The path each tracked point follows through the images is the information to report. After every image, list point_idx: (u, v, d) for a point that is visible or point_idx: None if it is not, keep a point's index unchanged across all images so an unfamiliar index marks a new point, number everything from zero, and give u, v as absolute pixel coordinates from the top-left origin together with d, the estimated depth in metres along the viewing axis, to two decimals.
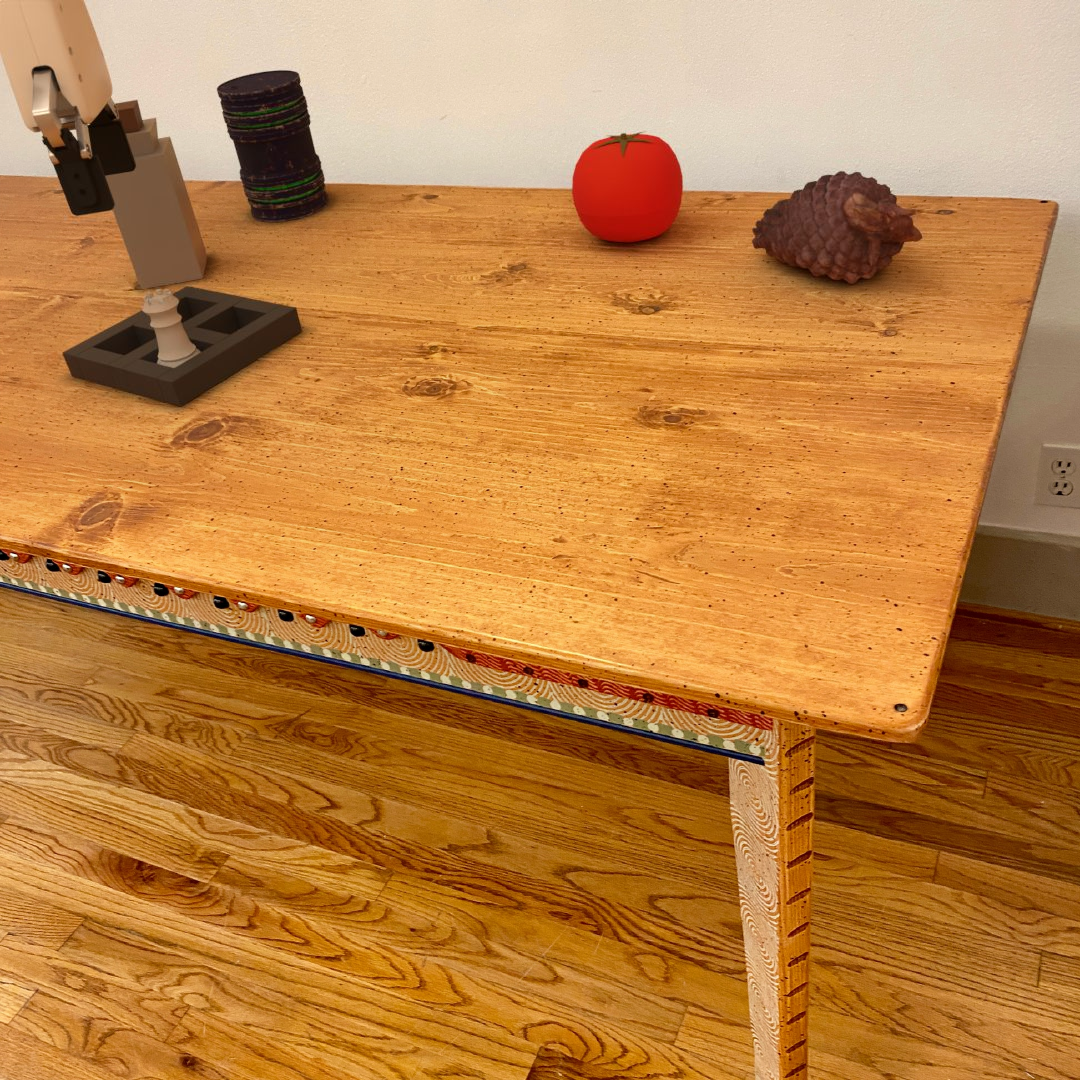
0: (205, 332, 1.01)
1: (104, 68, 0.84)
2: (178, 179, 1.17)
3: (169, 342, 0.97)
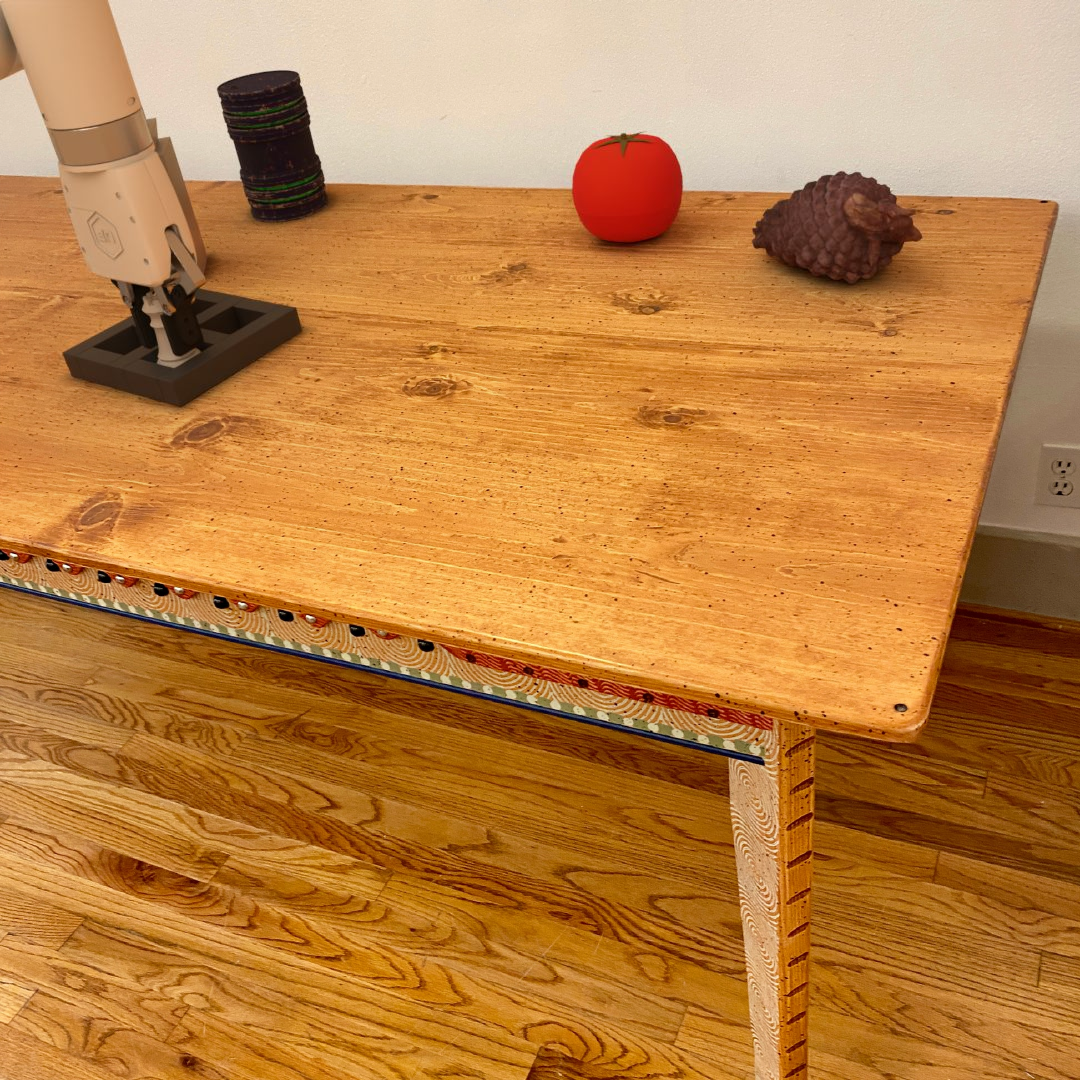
0: (205, 332, 1.01)
1: None
2: (178, 179, 1.17)
3: None
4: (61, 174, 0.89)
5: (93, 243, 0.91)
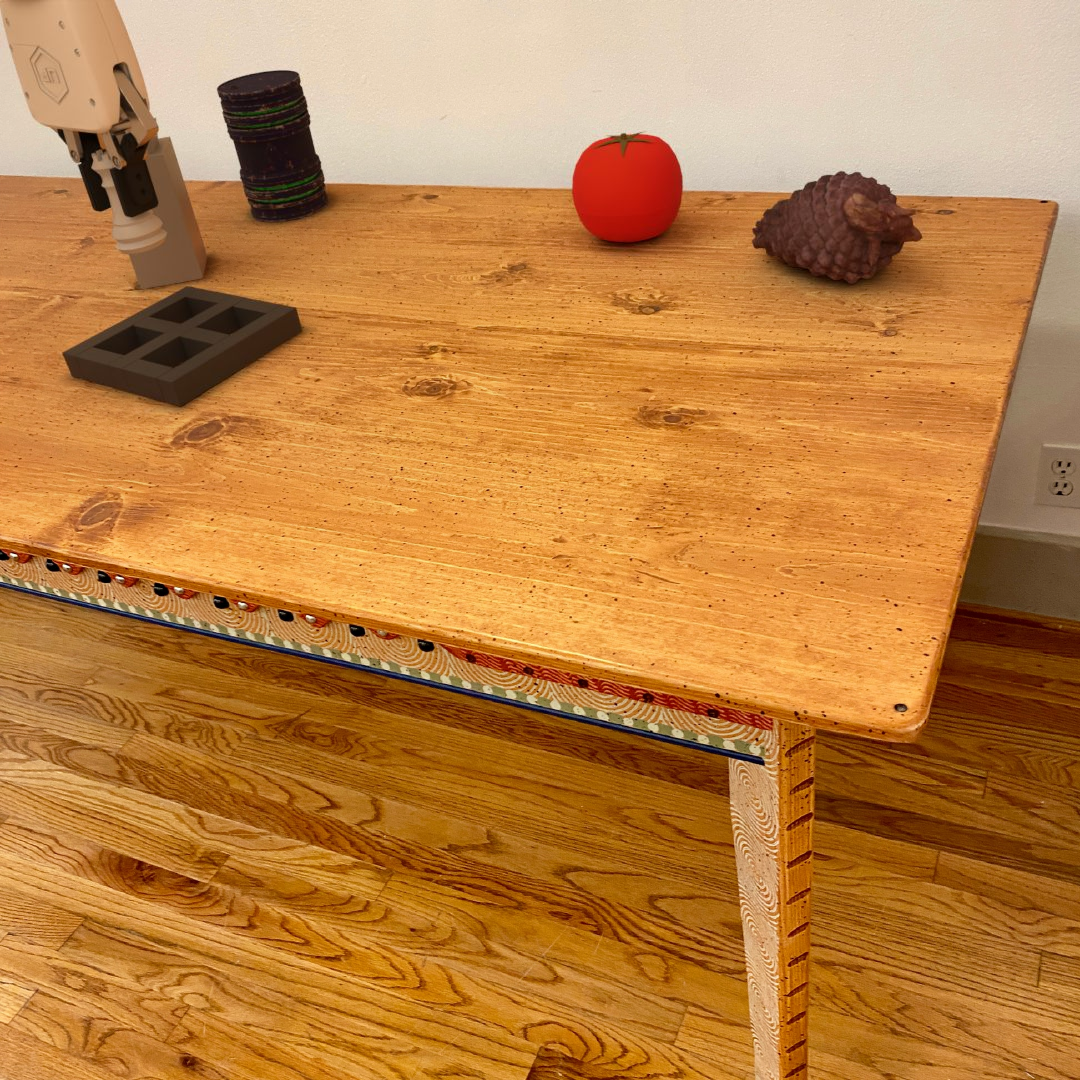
0: (205, 332, 1.01)
1: None
2: (178, 179, 1.17)
3: None
4: (1, 5, 0.82)
5: (37, 85, 0.84)
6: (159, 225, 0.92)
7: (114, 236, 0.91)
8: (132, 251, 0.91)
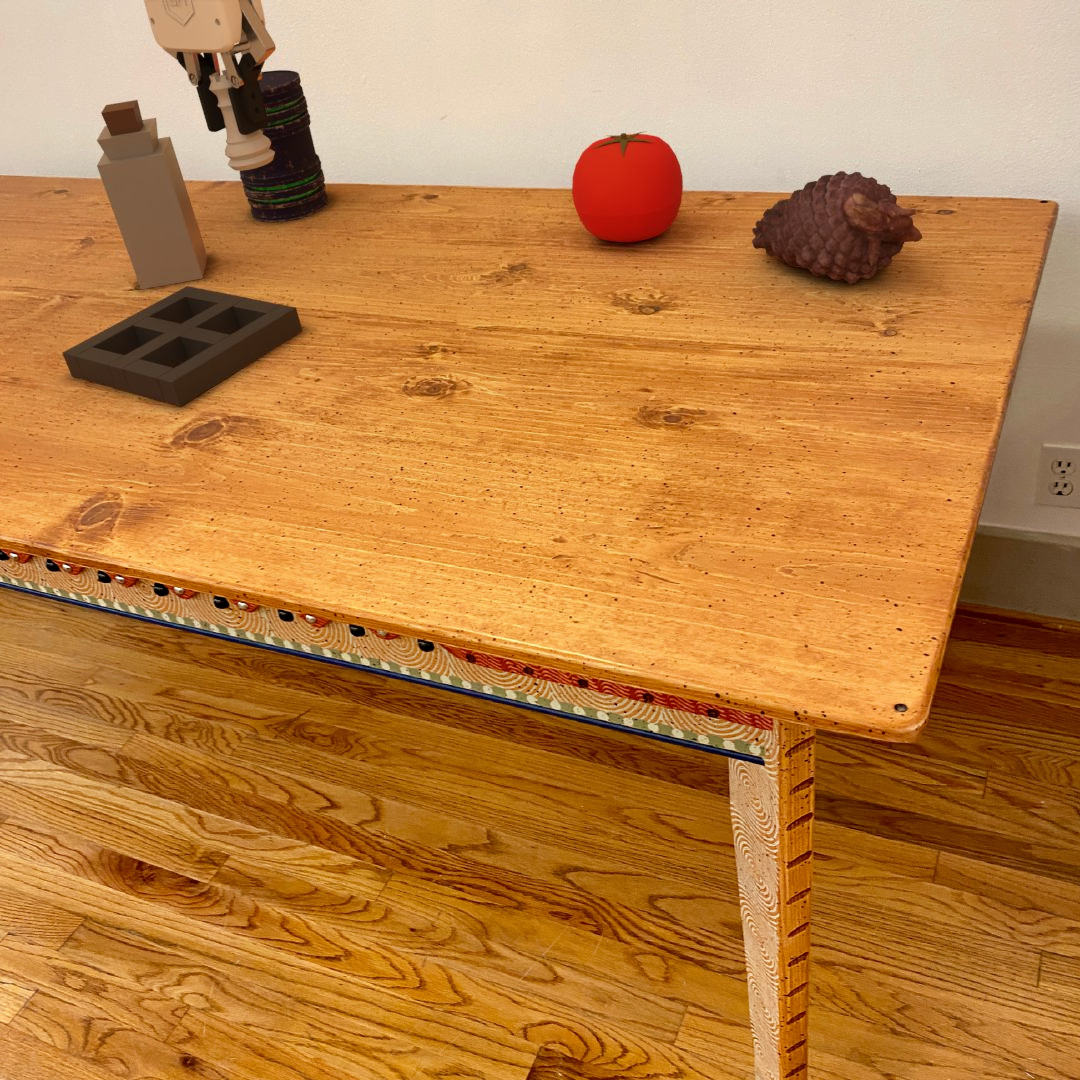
0: (205, 332, 1.01)
1: None
2: (178, 179, 1.17)
3: None
4: None
5: (163, 10, 0.92)
6: (269, 143, 0.99)
7: (228, 154, 0.98)
8: (245, 167, 0.99)
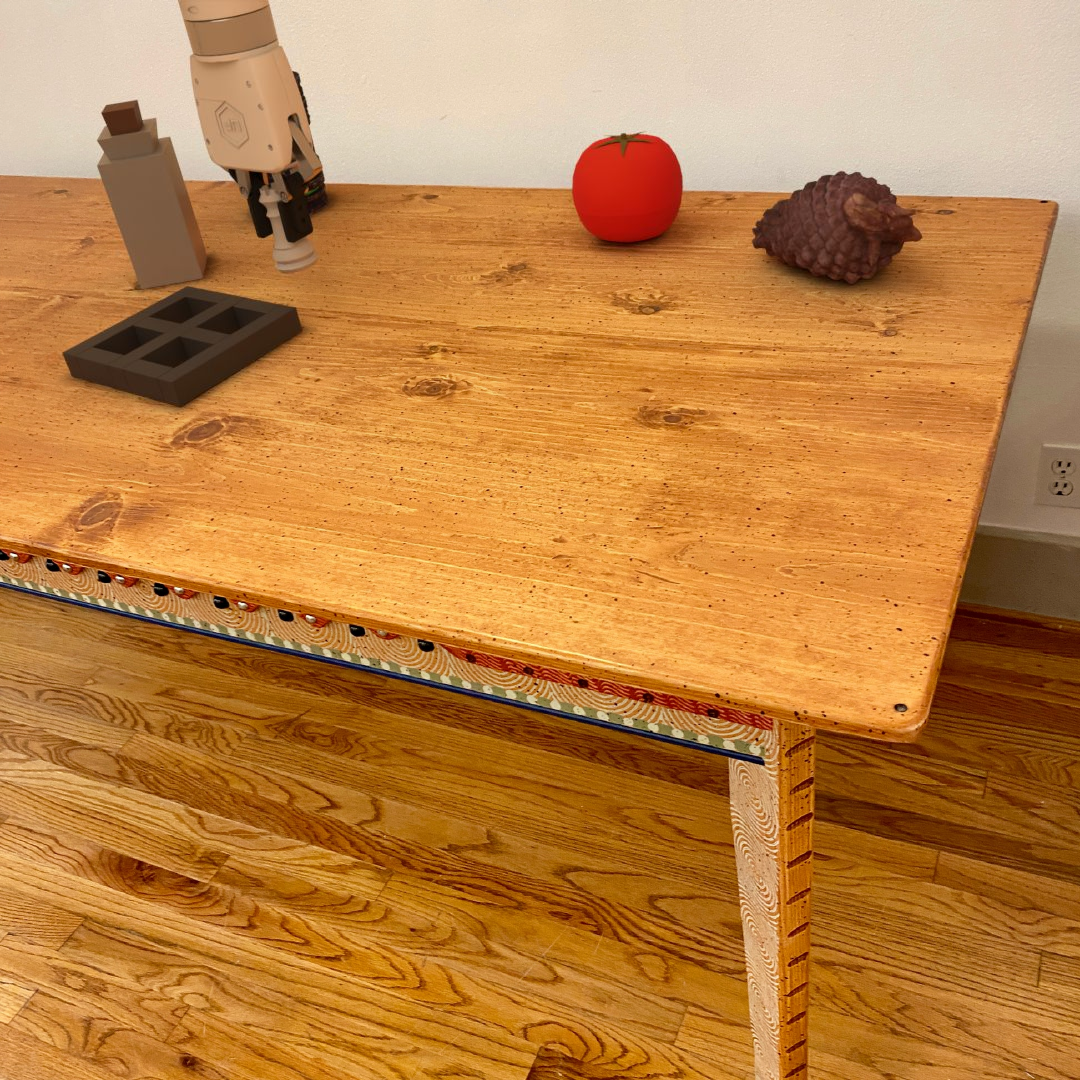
0: (205, 332, 1.01)
1: None
2: (178, 179, 1.17)
3: None
4: (192, 67, 0.97)
5: (219, 133, 1.00)
6: (313, 248, 1.07)
7: (276, 258, 1.06)
8: (291, 271, 1.06)
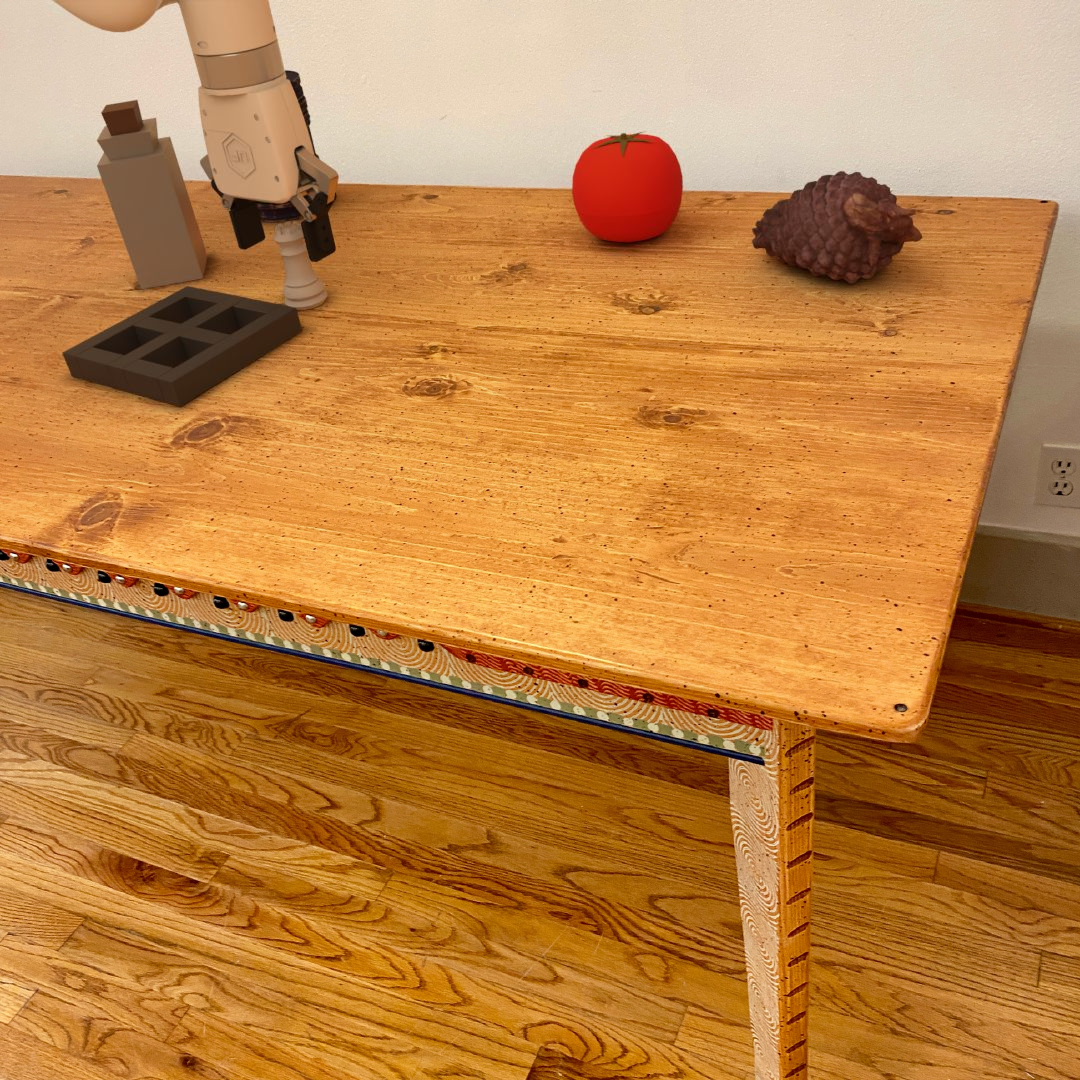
0: (205, 332, 1.01)
1: None
2: (178, 179, 1.17)
3: (297, 269, 1.07)
4: (201, 99, 0.99)
5: (226, 163, 1.01)
6: (323, 287, 1.09)
7: (286, 295, 1.08)
8: (301, 308, 1.09)
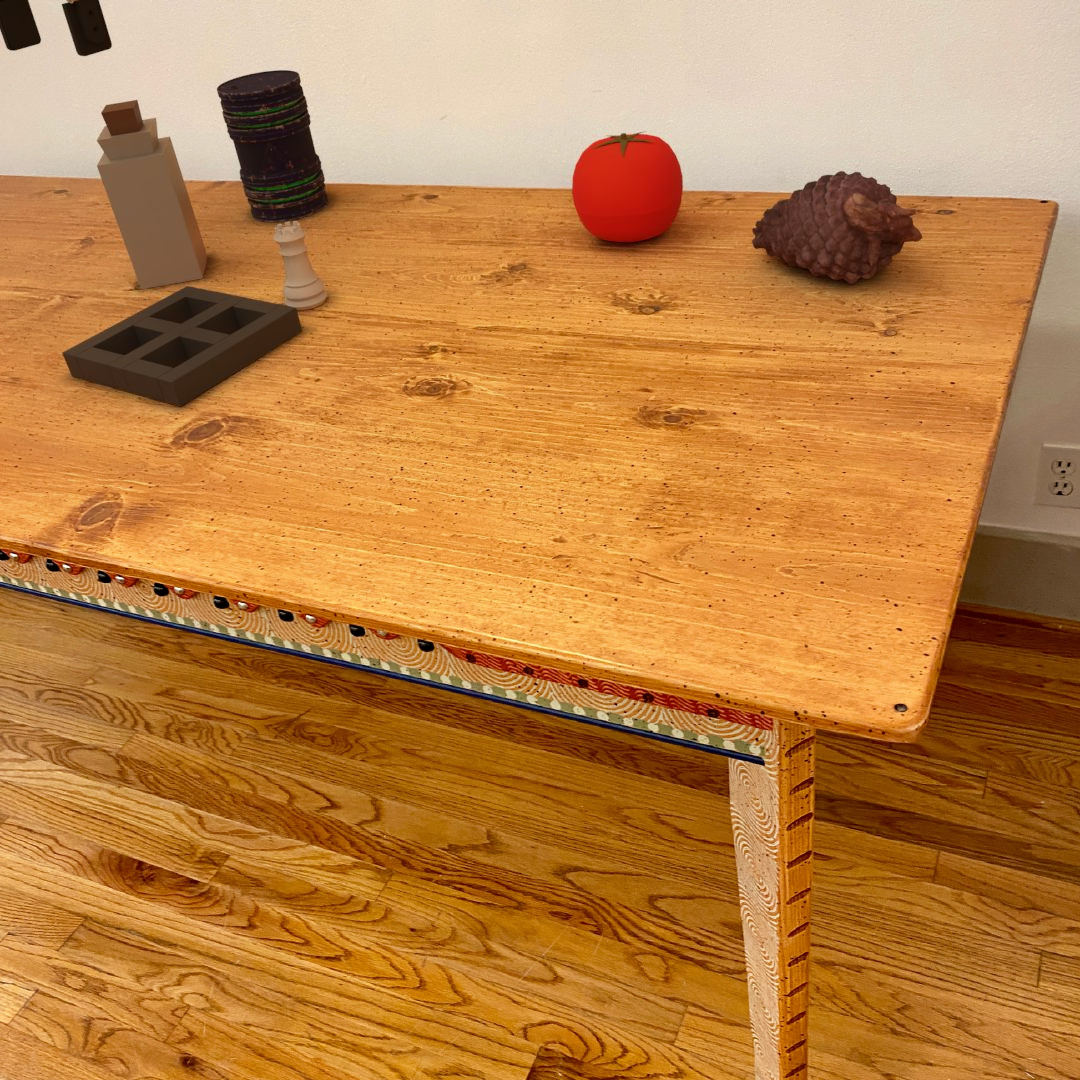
0: (205, 332, 1.01)
1: None
2: (178, 179, 1.17)
3: (297, 269, 1.07)
4: None
5: None
6: (323, 287, 1.09)
7: (286, 295, 1.08)
8: (301, 308, 1.09)
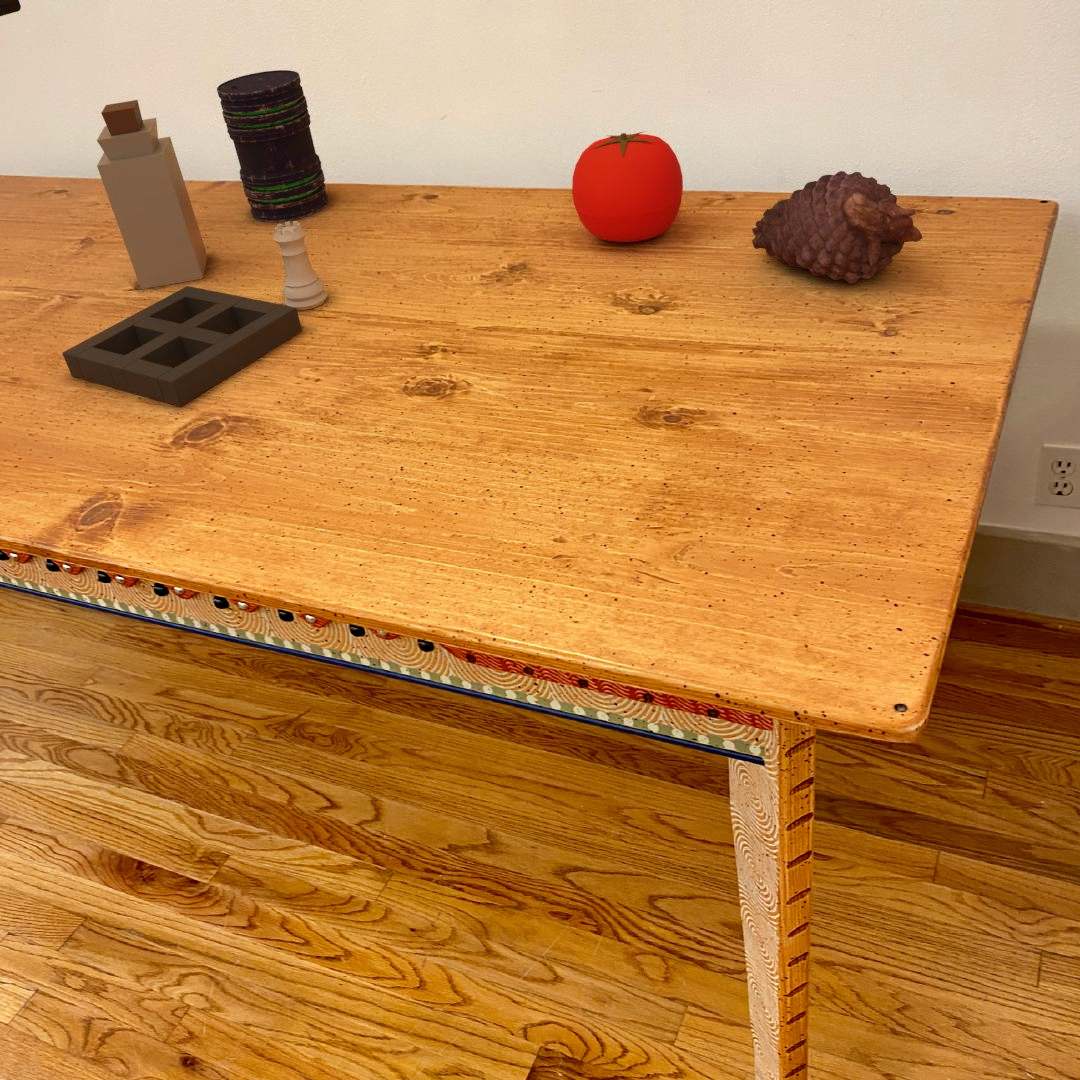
0: (205, 332, 1.01)
1: None
2: (178, 179, 1.17)
3: (297, 269, 1.07)
4: None
5: None
6: (323, 287, 1.09)
7: (286, 295, 1.08)
8: (301, 308, 1.09)
